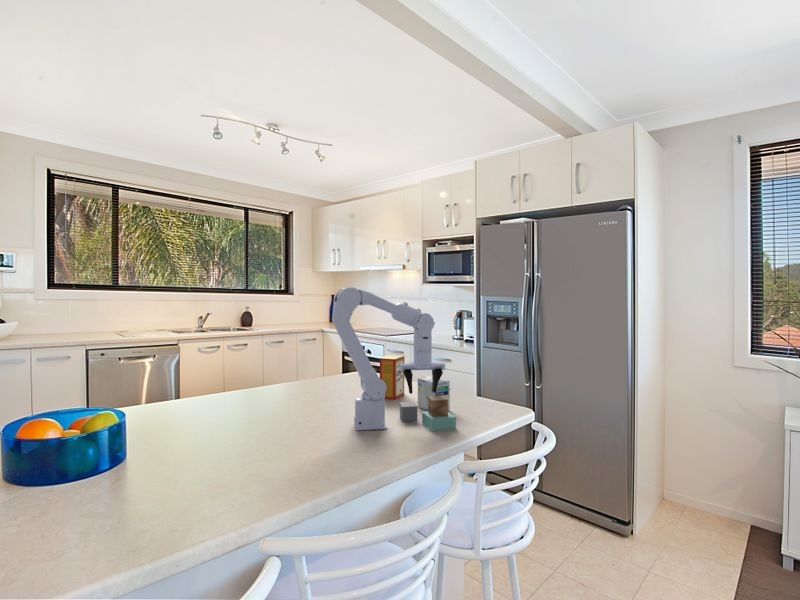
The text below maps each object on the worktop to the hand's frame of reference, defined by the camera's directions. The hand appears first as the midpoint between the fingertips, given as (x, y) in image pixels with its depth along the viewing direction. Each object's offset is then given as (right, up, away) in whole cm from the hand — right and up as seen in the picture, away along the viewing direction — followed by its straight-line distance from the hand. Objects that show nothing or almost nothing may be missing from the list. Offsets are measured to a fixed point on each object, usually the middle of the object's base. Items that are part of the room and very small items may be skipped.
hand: (422, 392), depth 137 cm
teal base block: (+5, -10, -4) cm, 12 cm away
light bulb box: (+5, -9, +15) cm, 18 cm away
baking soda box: (-10, -9, +33) cm, 36 cm away
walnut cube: (+5, -6, -4) cm, 8 cm away
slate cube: (-4, -10, +3) cm, 11 cm away
